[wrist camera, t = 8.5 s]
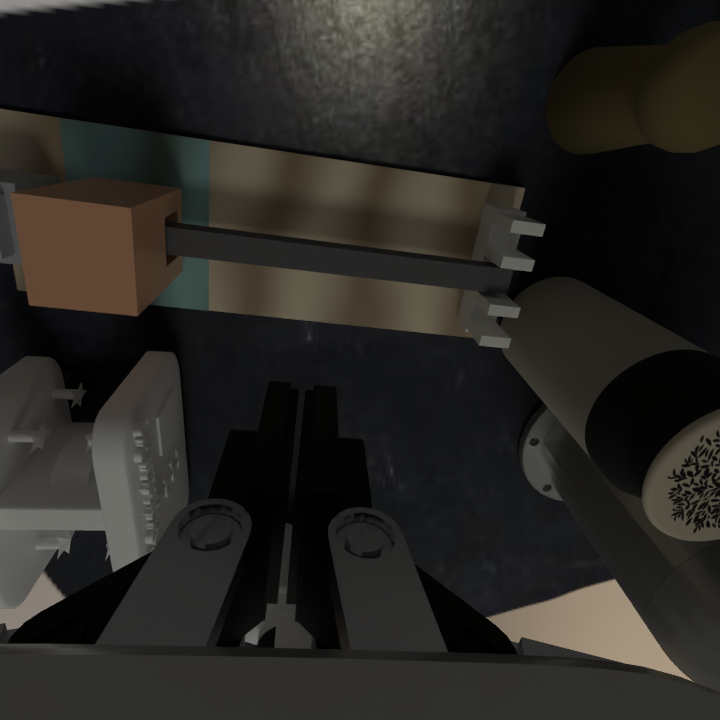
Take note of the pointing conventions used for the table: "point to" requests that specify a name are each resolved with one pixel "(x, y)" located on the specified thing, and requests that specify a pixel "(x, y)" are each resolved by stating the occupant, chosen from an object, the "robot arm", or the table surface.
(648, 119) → the yellow peg figure
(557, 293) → the travel mug
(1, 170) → the connector
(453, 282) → the dark grey bar
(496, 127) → the table surface
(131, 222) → the brown rectangular block
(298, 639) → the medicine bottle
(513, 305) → the cable comb
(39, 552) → the cable organizer
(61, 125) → the board
